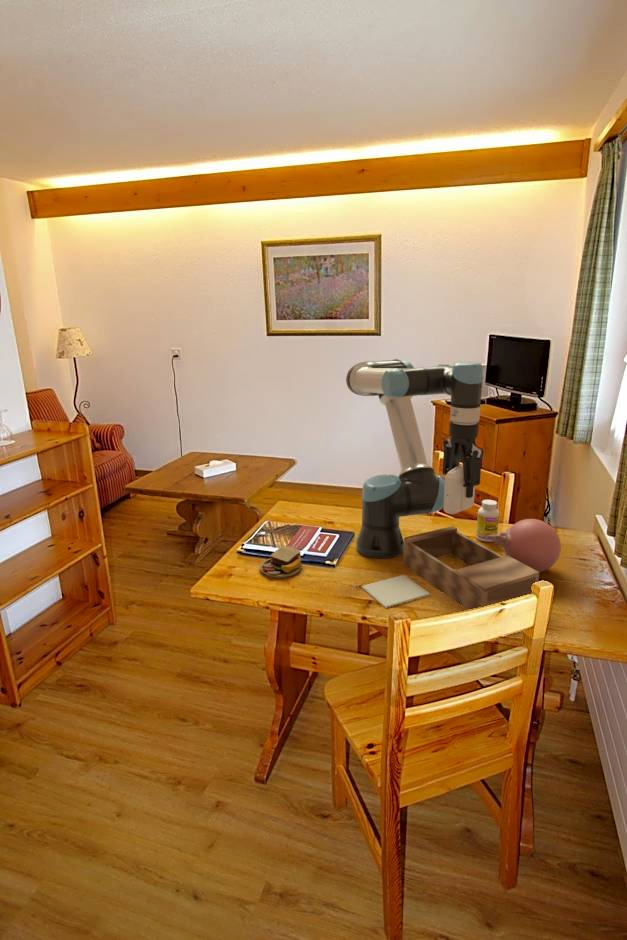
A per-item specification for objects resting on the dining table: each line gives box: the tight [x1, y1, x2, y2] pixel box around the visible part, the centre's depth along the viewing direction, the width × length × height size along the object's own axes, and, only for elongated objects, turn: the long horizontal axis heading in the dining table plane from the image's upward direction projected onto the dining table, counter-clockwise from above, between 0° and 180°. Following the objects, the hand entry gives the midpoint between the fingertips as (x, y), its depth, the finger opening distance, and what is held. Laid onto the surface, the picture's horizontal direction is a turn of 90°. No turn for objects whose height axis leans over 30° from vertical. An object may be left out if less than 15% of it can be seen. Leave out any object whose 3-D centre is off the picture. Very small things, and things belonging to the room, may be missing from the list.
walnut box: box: [402, 525, 540, 610], centre depth 156 cm, size 34×18×9 cm, turn 26°
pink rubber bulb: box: [488, 518, 562, 573], centre depth 162 cm, size 15×20×15 cm
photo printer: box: [442, 464, 476, 515], centre depth 153 cm, size 10×4×12 cm, turn 130°
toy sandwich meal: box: [259, 545, 303, 579], centre depth 167 cm, size 12×14×5 cm
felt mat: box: [361, 574, 431, 609], centre depth 153 cm, size 12×14×1 cm
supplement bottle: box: [475, 499, 500, 543], centre depth 183 cm, size 7×7×13 cm
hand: (458, 504), depth 155 cm, fingers closed on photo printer, 5 cm apart
